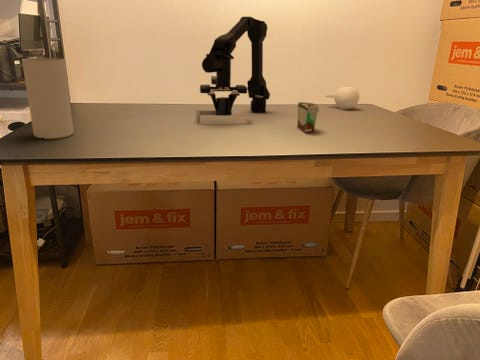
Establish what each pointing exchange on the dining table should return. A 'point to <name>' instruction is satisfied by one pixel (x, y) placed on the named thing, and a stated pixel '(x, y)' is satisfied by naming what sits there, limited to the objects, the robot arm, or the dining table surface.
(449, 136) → the dining table surface
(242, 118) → the beige shallow tray
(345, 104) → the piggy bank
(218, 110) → the speaker
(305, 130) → the food container
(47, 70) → the cylinder vase
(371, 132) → the dining table surface
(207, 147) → the dining table surface
